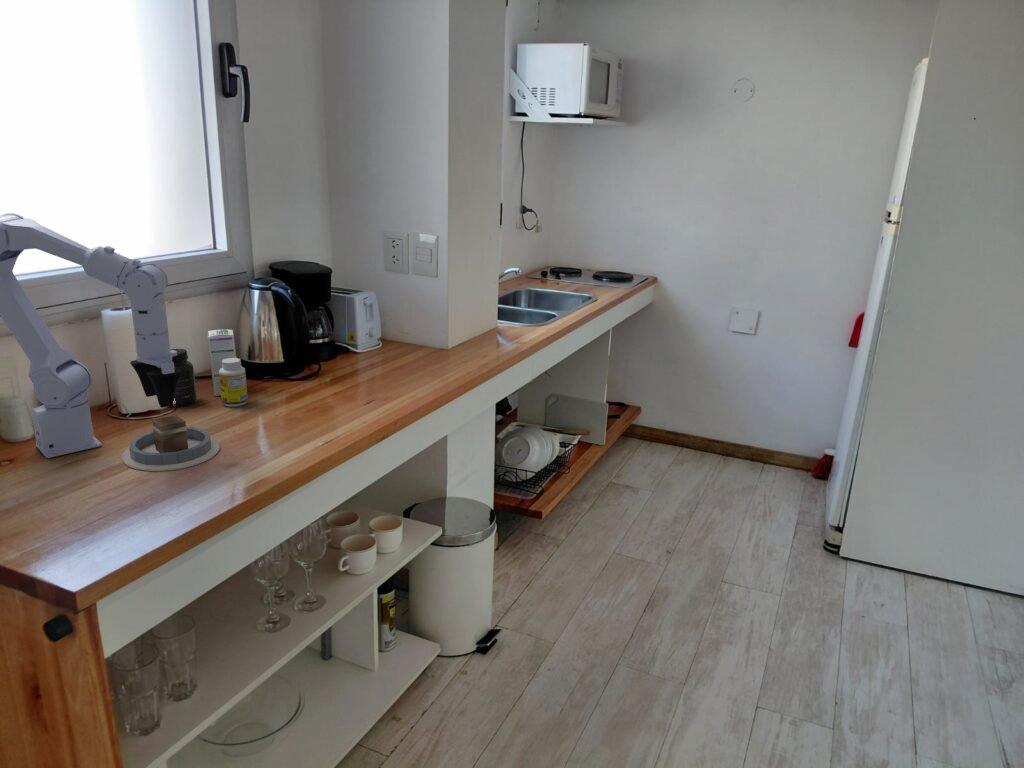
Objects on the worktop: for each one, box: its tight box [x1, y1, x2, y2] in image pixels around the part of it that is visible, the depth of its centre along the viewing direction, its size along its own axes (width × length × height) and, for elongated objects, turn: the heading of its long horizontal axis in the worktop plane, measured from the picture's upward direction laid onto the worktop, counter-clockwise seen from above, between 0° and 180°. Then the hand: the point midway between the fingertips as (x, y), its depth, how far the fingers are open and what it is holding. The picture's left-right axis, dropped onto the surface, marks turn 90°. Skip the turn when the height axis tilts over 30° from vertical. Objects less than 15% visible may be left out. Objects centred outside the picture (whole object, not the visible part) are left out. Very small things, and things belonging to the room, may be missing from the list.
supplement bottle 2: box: [219, 357, 249, 408], centre depth 170 cm, size 6×6×10 cm
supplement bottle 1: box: [170, 348, 198, 408], centre depth 169 cm, size 7×7×12 cm
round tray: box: [121, 426, 221, 472], centre depth 144 cm, size 17×17×2 cm
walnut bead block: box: [151, 414, 188, 453], centre depth 144 cm, size 5×5×6 cm
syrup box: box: [207, 328, 238, 397], centre depth 177 cm, size 6×6×14 cm
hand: (159, 400), depth 145 cm, fingers open, 7 cm apart
